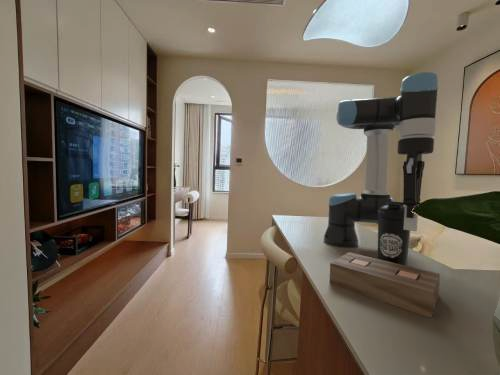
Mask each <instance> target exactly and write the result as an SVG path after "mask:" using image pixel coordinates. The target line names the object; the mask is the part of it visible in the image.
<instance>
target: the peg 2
mask: <svg viewBox="0 0 500 375" xmlns="http://www.w3.org/2000/svg"><path fill="white" fill-rule="evenodd" d="M397 275H398V276H402V277H405V278H409V279H413V280H417V281H418V274H414V273H410V272H406V271H402V270H400V272H399V273H398V274H397Z"/></svg>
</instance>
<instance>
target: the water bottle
mask: <svg viewBox="0 0 500 375" xmlns="http://www.w3.org/2000/svg"><path fill="white" fill-rule="evenodd" d="M401 202H402V201H394V202H391V203H385V204H386V205H384V206H382V207H381V208H380V209H379V210H378V211H377V216H378V224H377V226H378V227H377V259H379V260H384V261H388V262H392V263H396V264H401V265H405V266H408V257H409V247H410V235H411V231H410V230H404V211H405V205H402V204H401Z"/></svg>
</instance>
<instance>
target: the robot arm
mask: <svg viewBox="0 0 500 375" xmlns="http://www.w3.org/2000/svg"><path fill="white" fill-rule="evenodd" d="M438 81H439V80H438V75H437V74H436V73H435V72H431V71H425V72H418V73H414V74H410V75H407V76H406V77H404V78H403V79H402V80H401V85H400V89H399V92H400V95H399V96H391V97H390V96H388V97H375V98H363V99H362V98H360V99H347V100H341V101H339V103H338V107H337V113H336V122H337V124H338V125H339V126H340V127H342V128H346V129H351V130H363V134H364V135H365V136H366V152H365V153H366V154H365V155H366V157H365V176H364V177H365V178H364V181H365V182H364V189H363V191H360V192H361V193H360V196H357V194H356V193H354V192H352V193H349V192H348V193H346V192H345V193H338V194H332V195H330V196H329V199H328V200H329V201H328V218H327V219H328V221H327V226H326V227H327V228H326V230H325V232H324V235H323V242H324V243H325V242H326V243H325V244H327V243H328V245H330V246H332V247H333V246H334V247H340V248H355V247H357V246H358V245H359V238H358V234H357V231H356V226H355V225H356V222H357V223H368V224H377V225H378V216H377V211H378V210H379V209H380V208H381V207H382V206H384V205H386V204H385V203H391V202H395V198H392V197H391V194H390V192H389V191H388V190H387V185H388V184H387V183H388V163H389V162H388V159H389V141H390V138H389V137H390V135H391V134H392V133H393V132H394V129H395V128H396V131H398V138H399V140H398V141H397V154H398V155H401V156H406V159H405V161H404V160H403V164H402V172H403V189H402V190H403V191H402V192H403V193H402V194H403V195H402V196H403V197H402V198H403V199H402V201H400V202H401V204H402V205H404V207H405V211H404V230H410V232H417V231H418V221H419V220H418V219H419V218H418V216H419V214H418V215H416V214H414V213H412V212H411V211H412V209H413V208H414V207H415V206H416V205H418V204H420V203H421V191H422V182H423V175H424V173H423V172H424V170H425V164H426V163H425V162H426V161H424V160H423V157H422V156H423V155H429V154H433V152H434V146H435V139H434V138H433V136H435V133H436V120H437V119H436V116H437V113H436V111H437V98H438V90H439V86H438ZM418 206H419V205H418Z"/></svg>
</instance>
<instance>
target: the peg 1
mask: <svg viewBox="0 0 500 375" xmlns="http://www.w3.org/2000/svg"><path fill="white" fill-rule="evenodd" d="M351 263H353V264H357V265H360V266H364V267H367V266H368V265H369V262H366V261H362V260H358V259H355V260H353V261H352V262H351Z"/></svg>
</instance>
